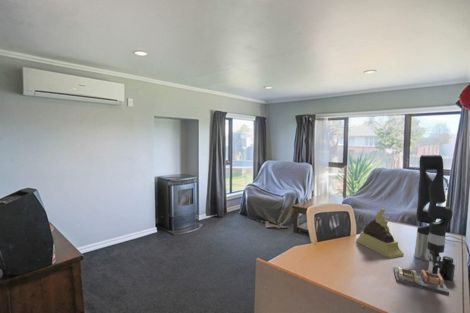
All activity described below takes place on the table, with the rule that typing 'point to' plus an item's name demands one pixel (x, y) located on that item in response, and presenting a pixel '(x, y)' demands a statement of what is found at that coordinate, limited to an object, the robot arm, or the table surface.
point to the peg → (431, 270)
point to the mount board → (417, 280)
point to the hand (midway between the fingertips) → (432, 270)
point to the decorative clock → (380, 237)
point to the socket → (432, 278)
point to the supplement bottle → (447, 268)
